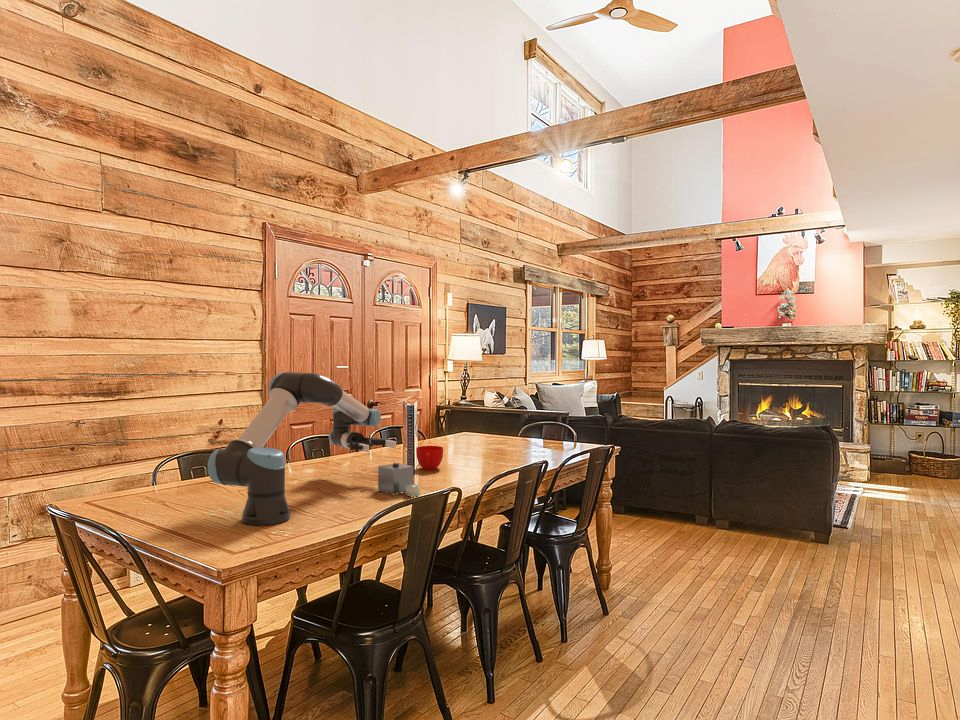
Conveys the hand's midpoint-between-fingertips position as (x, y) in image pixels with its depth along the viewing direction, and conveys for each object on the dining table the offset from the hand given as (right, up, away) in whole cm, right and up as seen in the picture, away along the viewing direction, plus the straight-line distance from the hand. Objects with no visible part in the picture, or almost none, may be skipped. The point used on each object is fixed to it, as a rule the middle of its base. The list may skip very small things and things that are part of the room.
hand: (382, 446), depth 251 cm
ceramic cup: (+16, -16, +37) cm, 44 cm away
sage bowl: (+14, -17, -15) cm, 27 cm away
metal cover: (+7, -17, -7) cm, 19 cm away
